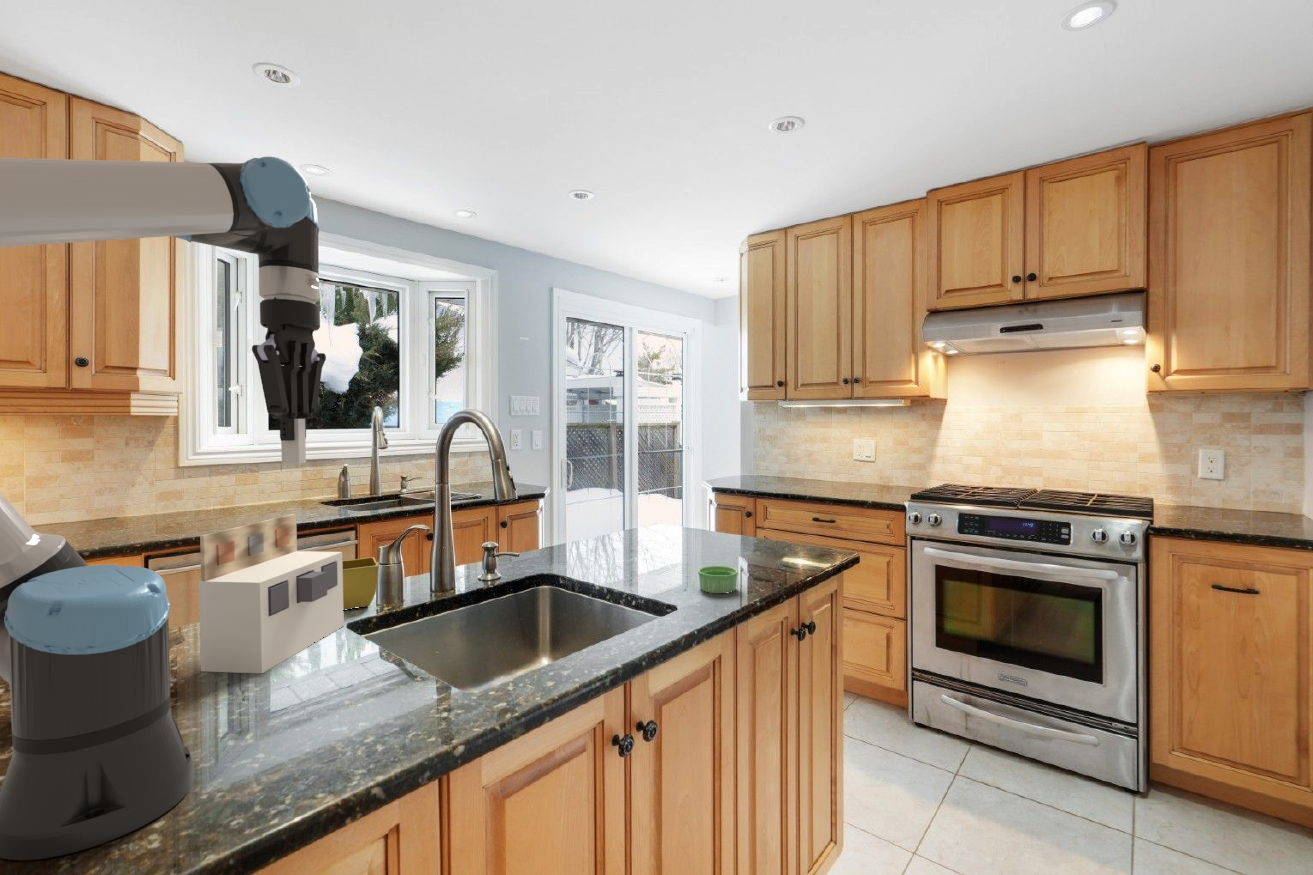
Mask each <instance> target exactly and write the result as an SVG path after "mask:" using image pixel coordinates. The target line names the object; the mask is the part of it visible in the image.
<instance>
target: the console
mask: <svg viewBox="0 0 1313 875" xmlns="http://www.w3.org/2000/svg"><path fill="white" fill-rule="evenodd" d="M342 561H343V552H342V551H316V550H315V551H306V550H305V551H301V550H297V551H296V552H293V553H290V554H287V555H284V556H281V557H278V558H275V559H272V560H269V561H266V562H263V563H260V564H256V565H253V566H250V567H247V568H244V569H241V570H238V571H235V572H232V573H229V574H226V575H223V576H220V577H217V578H214V579H211V580H208V581H201V580H198V583H197V584H198V613H199V648H200V650H199V651H200V672H209V673H211V672H214V673H237V674H261V675H262V674H264V673H266V672H268V671H270V670H271V669H272V668H275V667H276V666H278V665H280V664H281V663H284V661H285V662H286V660H288V659H290V658H292V657H293V656H296V655H297V654H299V653H300V652H302V651H304V650H305V649H307V648H309V647H311V646H312V645H314V644H315V643H314V642H316V643H317V641H318V642H319V641H321V640H322V638H323V637H324V638H326V637H328V636H330V635H331V634H333V633H335V632H336V630H337V631H338V630H340V629H341V627H342V626H343V625H344V626H345V623H344V621H345V620H344V617H345V616H344V613H345V612H344V611H343V563H342ZM329 563H337V580H338V584H337V585H335V586H333V587H330V588H328V589H327V595H326V596H324V597H322V598H320V599H318V600H315V601H313V602H297V590H296V576H299V575H302V574H304V573H307V572H321V567H322V566H324V565H327V564H329ZM281 582H289V607H286V608H284V609H282V610H280V611H278V612H275V613H273V614H269V609H268V587H270V586H273V585H275V584H278V583H281ZM339 628H340V629H339ZM342 628H343V627H342ZM334 631H335V632H334ZM332 632H333V633H332ZM330 633H331V634H330ZM329 634H330V635H329ZM325 636H326V637H325ZM324 638H323V639H324ZM320 639H321V640H320ZM313 643H314V644H313ZM311 644H312V645H311ZM310 645H311V646H310ZM308 646H309V647H308ZM303 649H304V650H303Z"/></svg>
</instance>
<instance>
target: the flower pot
mask: <svg viewBox="0 0 1313 875" xmlns="http://www.w3.org/2000/svg"><path fill="white" fill-rule="evenodd" d="M342 563H343V610H345V609H351V608H355V607H365V606H369V607H370V606H371V604H372V602H373V600H374V598H375V595H376V592H377V586H378V576H377V571H378V572H379V564H378V562H377V561H376V558H375V557H374V556H373V557H363V558H356V559H350V560H349V559H347V560H346V559H345V560H342Z"/></svg>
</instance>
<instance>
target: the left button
mask: <svg viewBox="0 0 1313 875" xmlns="http://www.w3.org/2000/svg"><path fill="white" fill-rule="evenodd" d="M286 607H289V582H281V583H278V584H275V585H273V586H270V587H268V609H269V614H273V613H275V612H278V611H280V610H282V609H284V608H286Z"/></svg>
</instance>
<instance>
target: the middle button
mask: <svg viewBox="0 0 1313 875" xmlns="http://www.w3.org/2000/svg"><path fill="white" fill-rule="evenodd" d="M296 590H297V602H313V601H315V600H318V599H320V598H322V597H324V596H326V595H327V572H307V573H304V574H302V575H299V576H296Z"/></svg>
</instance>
